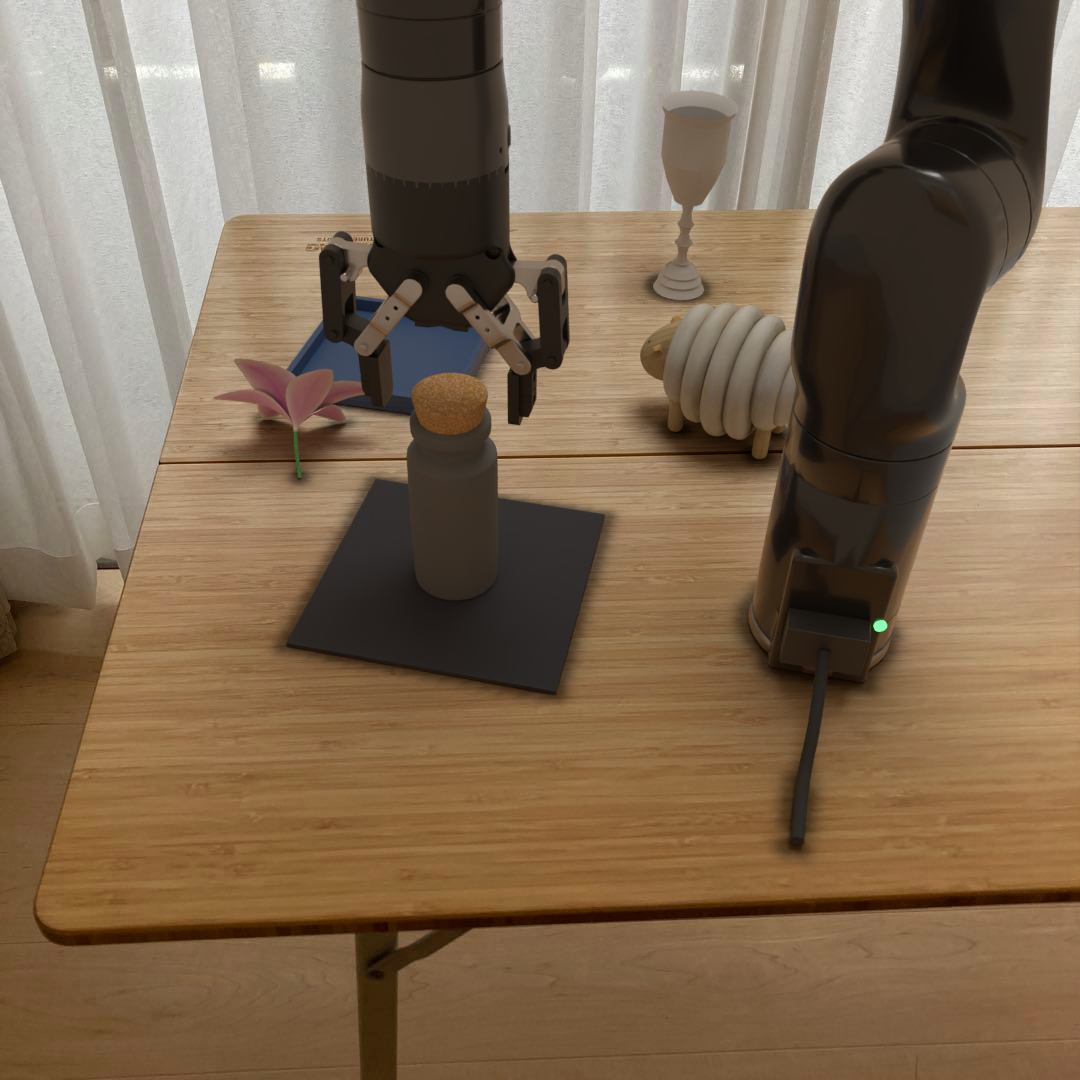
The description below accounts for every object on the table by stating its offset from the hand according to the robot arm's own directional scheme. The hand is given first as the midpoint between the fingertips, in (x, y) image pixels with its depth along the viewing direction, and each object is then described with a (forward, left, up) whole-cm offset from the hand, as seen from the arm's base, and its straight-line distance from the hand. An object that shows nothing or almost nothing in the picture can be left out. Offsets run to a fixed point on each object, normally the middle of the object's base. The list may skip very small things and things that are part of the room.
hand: (450, 409), depth 68 cm
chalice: (+46, -10, -15) cm, 50 cm away
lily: (+12, +16, -15) cm, 25 cm away
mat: (0, 0, -14) cm, 14 cm away
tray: (+26, +13, -14) cm, 33 cm away
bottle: (0, 0, -14) cm, 14 cm away
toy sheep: (+22, -17, -15) cm, 32 cm away
